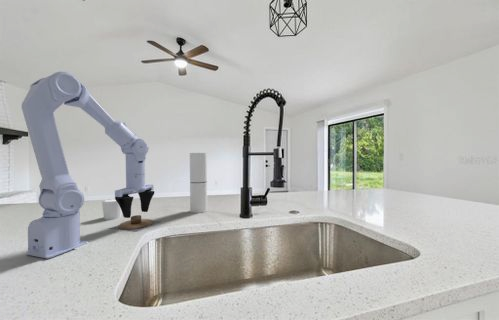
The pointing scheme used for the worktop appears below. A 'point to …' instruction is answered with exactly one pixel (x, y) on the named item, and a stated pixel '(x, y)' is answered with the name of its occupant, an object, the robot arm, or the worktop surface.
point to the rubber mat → (134, 229)
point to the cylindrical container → (198, 182)
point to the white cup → (111, 209)
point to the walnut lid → (135, 223)
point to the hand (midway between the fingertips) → (136, 214)
